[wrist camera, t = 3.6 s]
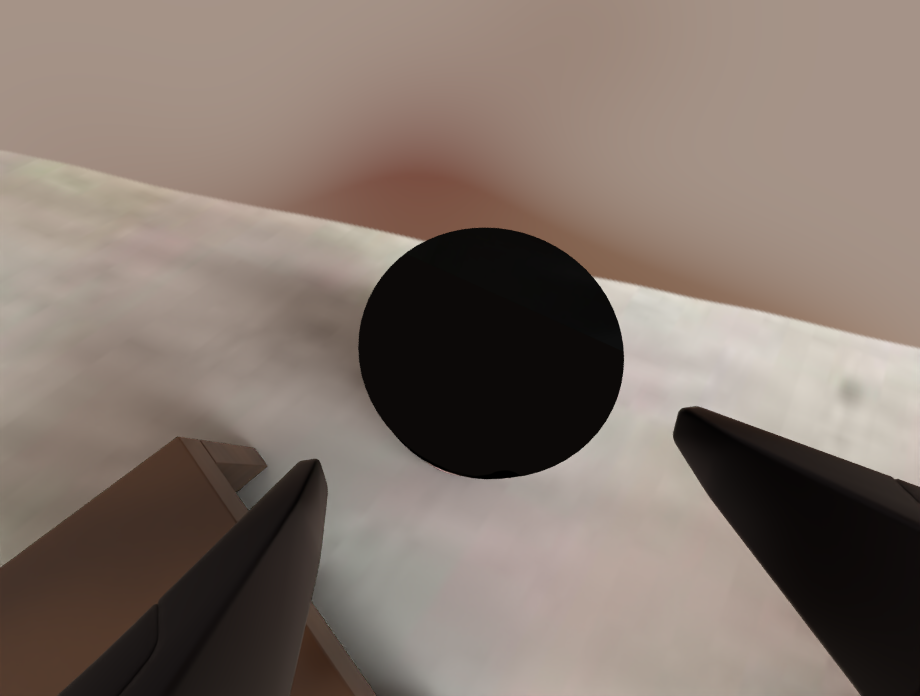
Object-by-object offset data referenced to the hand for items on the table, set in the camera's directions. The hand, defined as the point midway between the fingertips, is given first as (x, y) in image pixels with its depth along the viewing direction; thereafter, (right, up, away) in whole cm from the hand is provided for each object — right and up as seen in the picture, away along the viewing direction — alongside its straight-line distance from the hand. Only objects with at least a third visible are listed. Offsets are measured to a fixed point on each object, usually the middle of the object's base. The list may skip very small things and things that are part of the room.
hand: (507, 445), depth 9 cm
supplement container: (-1, -1, +10) cm, 10 cm away
